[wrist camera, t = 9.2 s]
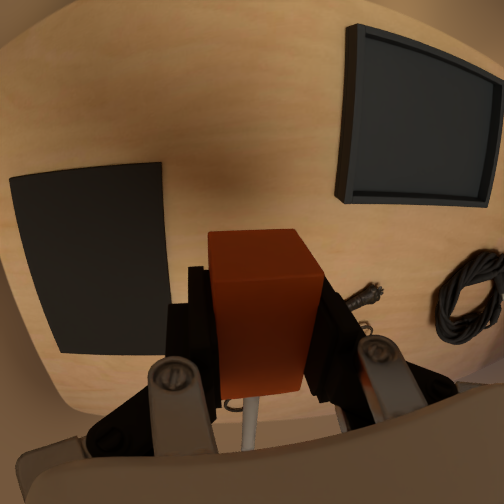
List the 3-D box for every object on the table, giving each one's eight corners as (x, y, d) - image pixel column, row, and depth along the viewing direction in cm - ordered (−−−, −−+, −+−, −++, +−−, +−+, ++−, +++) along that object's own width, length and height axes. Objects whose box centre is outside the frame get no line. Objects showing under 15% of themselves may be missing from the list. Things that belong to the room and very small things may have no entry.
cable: (410, 330, 38) (427, 351, 34) (458, 237, 32) (481, 254, 28) (476, 327, 42) (490, 343, 38) (515, 254, 36) (532, 268, 32)
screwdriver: (207, 230, 10) (212, 280, 8) (294, 227, 11) (326, 273, 8) (219, 433, 17) (224, 475, 14) (267, 427, 17) (278, 468, 15)
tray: (334, 195, 27) (344, 204, 25) (345, 27, 19) (357, 23, 18) (475, 201, 30) (487, 208, 28) (492, 79, 23) (506, 81, 21)
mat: (10, 177, 20) (8, 178, 20) (161, 162, 23) (160, 163, 22) (61, 350, 30) (60, 353, 29) (178, 352, 32) (178, 354, 32)
